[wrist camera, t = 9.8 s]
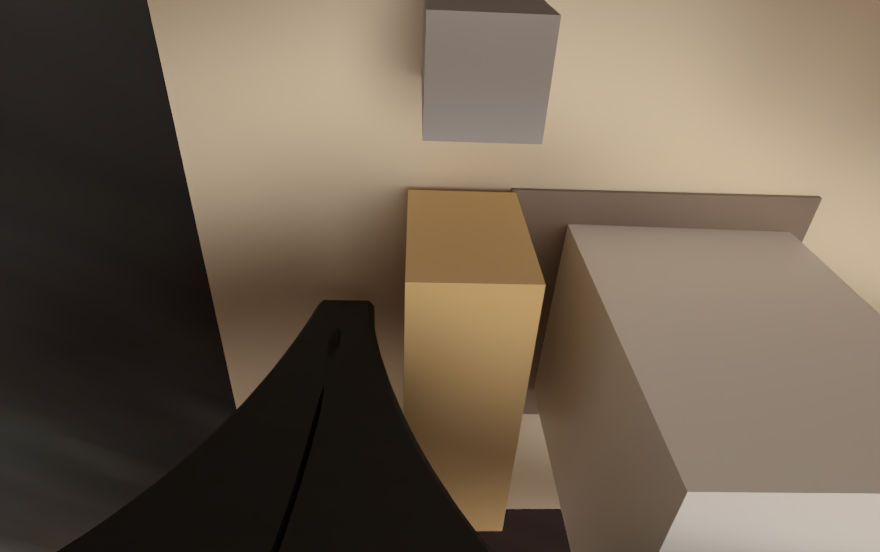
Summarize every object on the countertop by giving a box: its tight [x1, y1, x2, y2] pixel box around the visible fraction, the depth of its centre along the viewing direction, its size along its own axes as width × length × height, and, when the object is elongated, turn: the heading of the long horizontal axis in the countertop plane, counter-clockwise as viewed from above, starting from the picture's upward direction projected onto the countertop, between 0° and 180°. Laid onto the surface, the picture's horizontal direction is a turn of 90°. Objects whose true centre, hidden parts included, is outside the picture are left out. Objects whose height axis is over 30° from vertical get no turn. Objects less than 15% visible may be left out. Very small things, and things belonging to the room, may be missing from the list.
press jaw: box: [403, 190, 546, 531], centre depth 11 cm, size 6×2×3 cm, turn 178°
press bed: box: [147, 0, 880, 509], centre depth 12 cm, size 14×16×4 cm
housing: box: [534, 224, 880, 552], centre depth 10 cm, size 4×4×7 cm
